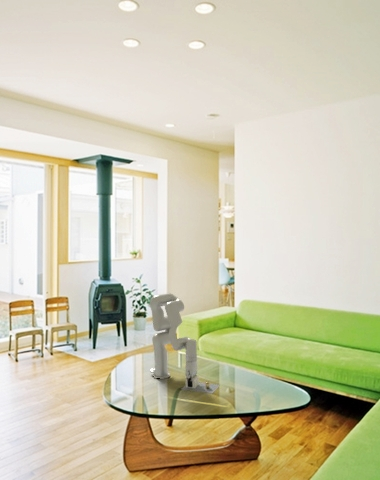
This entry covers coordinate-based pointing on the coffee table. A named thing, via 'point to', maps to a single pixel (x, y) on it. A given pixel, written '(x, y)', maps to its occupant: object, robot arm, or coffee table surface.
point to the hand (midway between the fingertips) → (192, 384)
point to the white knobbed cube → (193, 381)
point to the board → (202, 388)
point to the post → (207, 385)
